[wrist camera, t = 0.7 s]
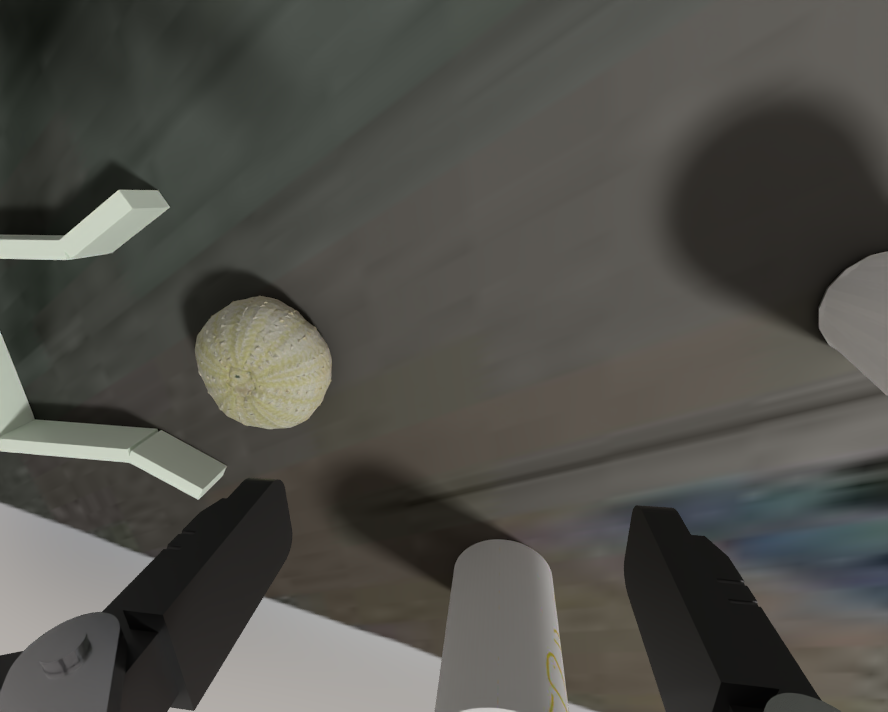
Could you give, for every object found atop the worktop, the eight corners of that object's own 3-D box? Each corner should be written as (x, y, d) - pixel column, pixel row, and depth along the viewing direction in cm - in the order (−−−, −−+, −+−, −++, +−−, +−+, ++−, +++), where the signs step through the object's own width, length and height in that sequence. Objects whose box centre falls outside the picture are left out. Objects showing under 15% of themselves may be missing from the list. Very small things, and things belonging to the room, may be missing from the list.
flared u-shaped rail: (-70, 190, 30) (-130, 190, 27) (166, 190, 27) (127, 189, 24) (39, 459, 37) (2, 480, 35) (229, 476, 35) (205, 500, 32)
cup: (534, 623, 37) (547, 810, 25) (444, 597, 37) (418, 770, 26) (566, 555, 33) (596, 735, 22) (467, 527, 34) (448, 690, 23)
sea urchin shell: (211, 425, 31) (136, 390, 24) (247, 331, 34) (191, 274, 27) (329, 444, 30) (289, 414, 23) (356, 346, 34) (328, 292, 26)
